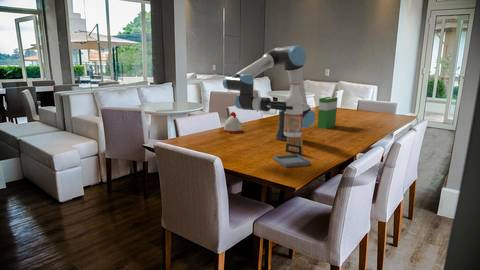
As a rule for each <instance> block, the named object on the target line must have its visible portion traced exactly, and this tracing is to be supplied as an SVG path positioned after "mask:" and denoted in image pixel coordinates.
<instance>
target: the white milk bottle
mask: <svg viewBox="0 0 480 270" xmlns="http://www.w3.org/2000/svg"><path fill="white" fill-rule="evenodd" d="M289 85H290V86H291V87H290V86H289V87H290V88H289V91H288V94H287V95H286V96H285V99H284V100H285V101H284V102H286V106H287V105H297V106H300V110H299V111H291V110H287V109H286V112H285V114H284V135H285V136H287V137H297V138H298V137H301V134H302V130H303V127H302V116H303V108H302V103H303V97H302V95H301V93H300V90H299V86H300V83H299V82H291V83H290V82H289Z"/></svg>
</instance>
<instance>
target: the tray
mask: <svg viewBox="0 0 480 270" xmlns="http://www.w3.org/2000/svg"><path fill="white" fill-rule="evenodd" d="M273 160H274V161H275V162H276V163H278V164H279V165H281V166H283V167H284V168H286V169H287V168H294V167H304V166H311V161H310V160H309V159H307V158H305V157H304V156H302V155H299V154H295V153H290V154H282V155H280V154H279V155H273Z"/></svg>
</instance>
